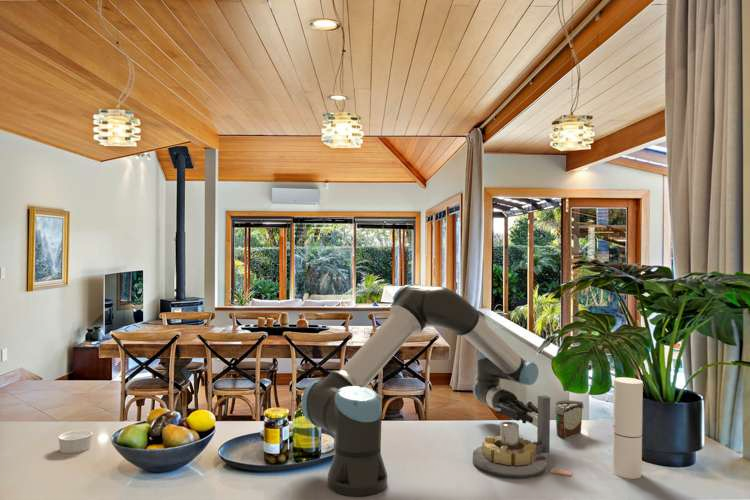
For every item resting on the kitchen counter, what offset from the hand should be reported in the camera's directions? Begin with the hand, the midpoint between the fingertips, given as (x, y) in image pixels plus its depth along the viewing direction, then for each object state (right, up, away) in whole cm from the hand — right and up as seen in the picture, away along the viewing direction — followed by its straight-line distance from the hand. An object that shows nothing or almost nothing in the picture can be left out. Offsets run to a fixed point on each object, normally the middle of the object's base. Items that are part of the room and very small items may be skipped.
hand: (542, 423), depth 161 cm
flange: (-11, -10, -5) cm, 15 cm away
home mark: (+2, -10, -11) cm, 15 cm away
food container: (+14, -10, +21) cm, 27 cm away
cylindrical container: (+20, -10, -10) cm, 25 cm away
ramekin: (-136, -9, +3) cm, 136 cm away
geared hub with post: (-8, -7, -4) cm, 12 cm away
